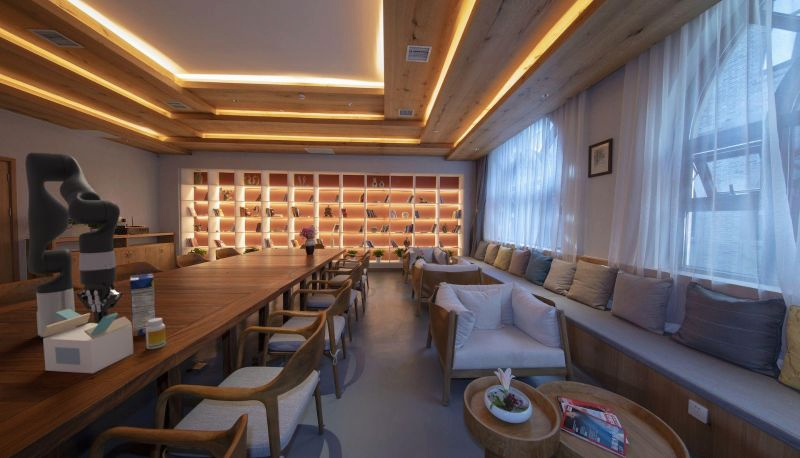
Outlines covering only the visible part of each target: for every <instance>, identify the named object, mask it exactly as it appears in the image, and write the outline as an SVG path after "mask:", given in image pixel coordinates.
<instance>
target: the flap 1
mask: <svg viewBox="0 0 800 458" xmlns="http://www.w3.org/2000/svg"><path fill="white" fill-rule="evenodd" d="M55 315H57V316H59V317H61V318H62V319H64V321H61V322H58V323H54V324H51V325H48V326H46V327H45V330H44V333H43V335H42V336H43V337H42V338H46V337H45V336H48V335H51V334H54V333H57V332H60V331H63V330H66V329H69V328H72V327H75V326H76V327H79V326H82V325H85V324H88V322H89V320H90V317H91V313H90V312H88V313H85V314H80V313H78V312H76V310H75V311H73V310H71V309H66V310H62V311H59V312H56V313H55Z"/></svg>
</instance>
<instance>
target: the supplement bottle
mask: <svg viewBox="0 0 800 458" xmlns="http://www.w3.org/2000/svg"><path fill="white" fill-rule="evenodd" d="M148 325H149V326H148V327H147V328H146V334H145V342H146V343H145V345H146V349H148V350H155V349H160V348H162V347H164V346H165V345H166V344H167V338H166V334H167V333H166V325H165V324H164V323H163V318H162V317H156V318H154V319H150V320H148Z"/></svg>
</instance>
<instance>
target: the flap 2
mask: <svg viewBox="0 0 800 458" xmlns="http://www.w3.org/2000/svg"><path fill="white" fill-rule="evenodd" d="M118 315H119V313H118V312H114V313H112V314H108V315H107V316H105V317H103V318H102V319H101V321H100V322H99V323H98V325H97V326H96V327H93V328H90V329H87V330H85V331H84V332H85V333H86V334H87V335H88V336H90V337H91V338H92V339H95V338H98V337H100V336H103V335H105V334H108V333H110V332H113V331H116V330H118V329H121V328H123V327H126V326H129V325H132V322H131V320H129V319H128V318H127V317H126V316H122V317H119V318H117V317H118Z"/></svg>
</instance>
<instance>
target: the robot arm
mask: <svg viewBox="0 0 800 458" xmlns="http://www.w3.org/2000/svg"><path fill="white" fill-rule="evenodd" d="M24 165H25V171H26V179H27V188H28V212H27V216H28V217H27V220H28V232H29V233H28V234H29V241H28V242H29V244H28V252H27V254H28V255H27V269H28V271H29V273H30V274H32V275H33V276H34V275H35V276H36V275H37V276H42V275H50V274H58V275H57V276H56V277H54V278H52V279H50V280H48V281H45V282H41V283H39V284H37V285H36V287H35V288H36V289H35V291H36V303H37V304H36V305H37V311H36V326H37V335H38V336H39V337H40V338H46V337H49V336H52V335H55V334H58V333H61V332H64V331H67V330H70V329H73V328H76V327H77V326H75V327H72V328H69V329H66V330H63V331H60V332H57V333H54V334H51V335H48V336H45V337H43V336H42V335H43V333H44V330H45V327H46V326H48V325H51V324H54V323H58V322H61V321H64V319H62V318H61V317H59V316H57V315H55V313H56V312H59V311H62V310H66V309H71V310H73V311H75V312H76V309H75V297H74V296H75V294H74V284H73V255H72V252H71V250H69V249H67V248H60V249H59V248H58V249H47V247H48V246H49V245H50V244H51V243H52V242H54V241H55V240H56V239H57V238H58V237H60V236H61V235H62V234H63V233H65V232H66V230H67V229H68V227H69V222H70V221H69V220H71V222H74V223H75V224H79V225H100V226H99V228H98V229H96V230H92V231H87V232H84V233H83V232H82V233H81V234H79V237H78V246H79V258H78V266H79V267H78V268H79V283H80V284H81V285H83V290H82V291H81V292H77V293H76V297H77V298H78V299H79V301H80V302H81V303H82V305H83V306H84V307H85V309H86V310H91V312H92V313H93V319H94V320H93V321H94V323H95V324H98V323H99V322H100V321H101V319H102V318H103V317H105V316H108V315H109V314H108V310H110V309H113V308H115V306H116V305H117V303H119V300H120V299H121V297H122V296H123V293H122V292H121V291H120V292H118V291H116V290H115V289H116V288H115V285H114V282H116V280H117V267H116V266H117V263H116V255H115V250H114V235H115V231H116V227H117V225H118V221H119V219H120V215H121V209H120V207H119V206H118V204H117V203H116V202H114V201H112V200H101V196H100V195H99V194H98V193H97V192H96V191H95V190H94V188H92V186H91V185H90V183H89V182H88V180H87V178H86V175H85V174H84V172H83V169H82V168H81V166H80V164H79V162H78V161H77V160H76V159H75V158H74V157H73V156H71V155H69V154H63V153H50V152H49V153H48V152H30V153H28V154H27V155H26V157H25V164H24ZM46 182H54V183H55V182H62V183H61V184H60V187H59V194H60V196H61V197H62V199H63V200H65V203H67V206H68V208H67V206H66V205H65V204H64V203H62V201H61V200H59V199H58V198H57V197H56V196H54V195H53V194H52V193H51V192H50V191H49V190H48V188H47V187H46V186H45V183H46ZM46 249H47V250H46Z"/></svg>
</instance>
